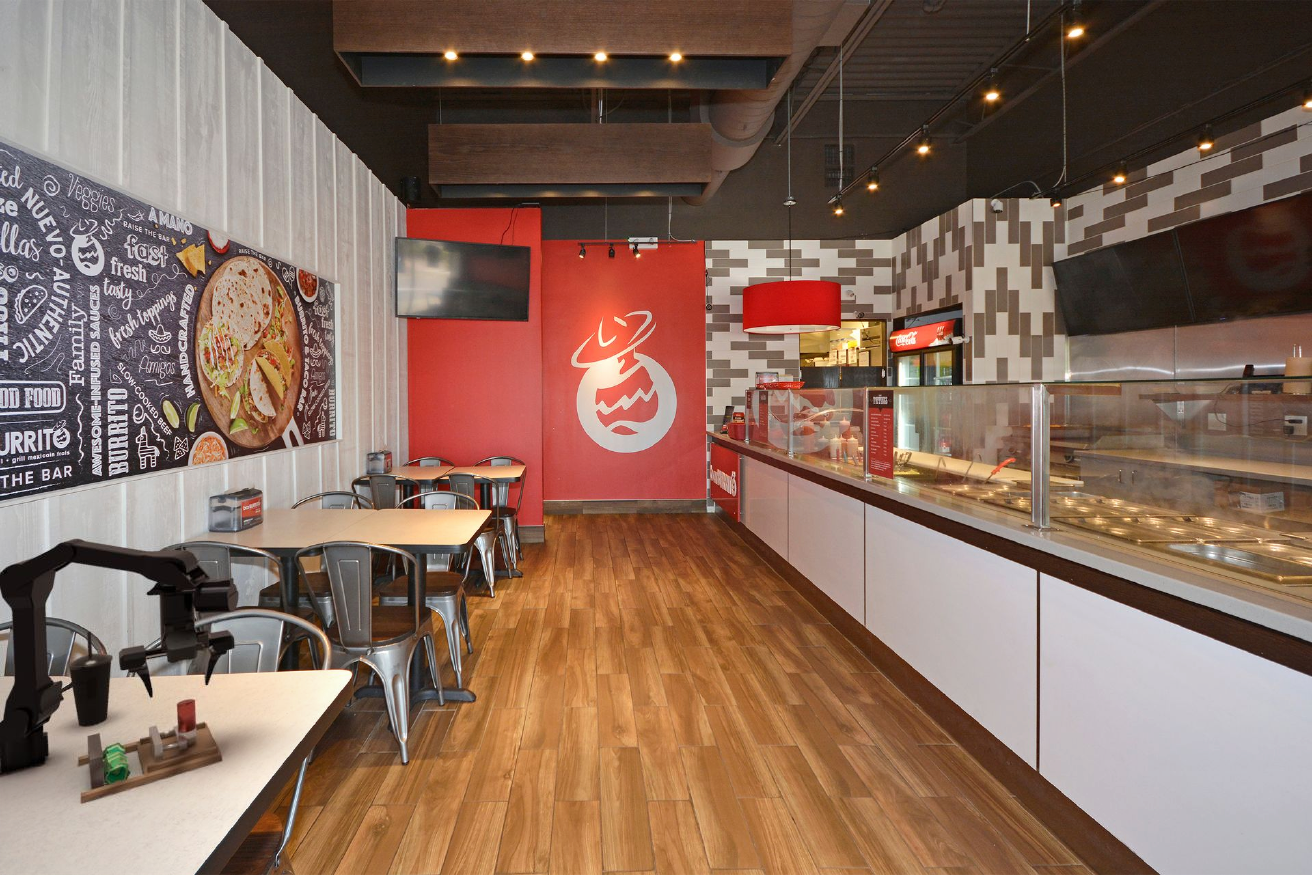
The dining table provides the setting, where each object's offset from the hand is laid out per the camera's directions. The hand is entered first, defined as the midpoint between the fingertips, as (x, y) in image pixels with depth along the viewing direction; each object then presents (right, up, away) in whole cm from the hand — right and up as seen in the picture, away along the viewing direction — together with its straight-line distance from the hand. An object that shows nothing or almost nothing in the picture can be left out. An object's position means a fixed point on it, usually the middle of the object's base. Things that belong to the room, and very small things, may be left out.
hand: (179, 690), depth 137 cm
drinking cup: (-28, -12, +12) cm, 32 cm away
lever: (+1, -10, -3) cm, 11 cm away
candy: (-6, -13, -9) cm, 16 cm away
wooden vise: (-2, -12, -5) cm, 13 cm away
